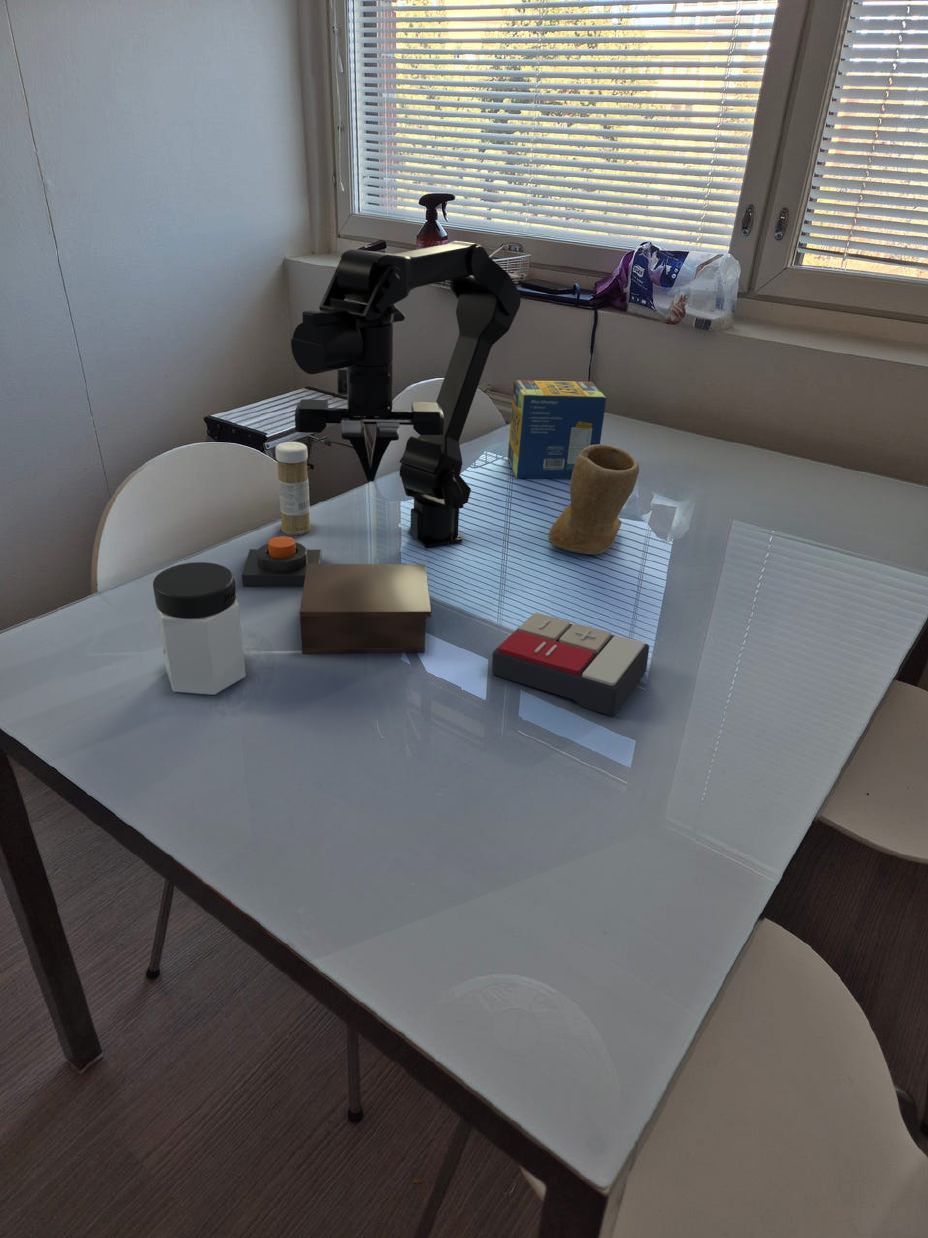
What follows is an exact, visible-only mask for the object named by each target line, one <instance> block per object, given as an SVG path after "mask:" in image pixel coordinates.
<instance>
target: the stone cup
mask: <svg viewBox="0 0 928 1238" xmlns="http://www.w3.org/2000/svg"><path fill="white" fill-rule="evenodd" d="M639 472H640V465H639V463H638V461H637V459H636V458H635V457H634V455H632V454H630V453H629V452H627V451H626V450H624V449H622V448H620V447H617V446H614V445H609V444H605V443H604V444H601V443H600V444H597V445H591V446H588V447H586V448H584V449H583V450H582V451H581V452H580V453H579V455H578V457H577V459H576V462H575V465H574V469H573V472H572V477H571V479H570V481H569V497H570V503H569V504H567V506H566V507H565V508H564V509H563V511H561V513H560V515H559V516H558V517H557V518H556V520H555V522H554V523H553V524H552V525H551V528H550V530H549V532H548V536H547V538H548V541H549V543H550V544H551V545H553V546H554V547H557V548H559V549H561V550H564V551H568V552H572V553H575V554H576V553H577V554H583V555H601V554H603V553H605V552H606V551H608V550H609V548H610V547H612V545H613V544H614V542H615V540H616V538H617V536H618V533H619V531H620V527H621V526H622V520H620V519H619V514H620V512H621V511H622V509H624V506H625V505H626V503H627V501H628V500H629V498H630V497H631V495H632V494H633V491H634V489H635V486H636V484H637V479H638V475H639Z"/></svg>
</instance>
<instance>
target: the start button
mask: <svg viewBox="0 0 928 1238" xmlns="http://www.w3.org/2000/svg"><path fill="white" fill-rule="evenodd" d="M295 543H296V540H295V539H294V537H293V538H292V537H290V536H284V535H283V536H282V535H281V536H275V537H272V538H270V539H269V540H268V541H267V544H268V550H269V555H270V556H271V557H275V558H287V557H291V556H294V555H295V553H296V548H295Z"/></svg>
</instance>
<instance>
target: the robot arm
mask: <svg viewBox="0 0 928 1238" xmlns="http://www.w3.org/2000/svg"><path fill="white" fill-rule="evenodd" d="M446 281H449V288H450V290H451V292H452V293H453V294H454V296H455V297H456V298H457V303H456V308H455V316H456V322H457V327H458V337H457V340H456V343H455V345H454V348H453V351H452V354H451V357H450V360H449V363H448V366H447V369H446V372H445V375H444V377H443V379H442V384H441V386H440V390H439V392H438V394H437V398H436V401H435V402H433V401H432V402H431V401H429V402H427V401H411V409H393V394H394V393H393V390H394V389H393V387H394V385H393V381H394V379H393V377H394V376H393V375H394V373H393V372H394V370H393V368H394V367H393V366H394V362H393V361H394V359H393V358H394V324H395V323H398V322H403V321H405V319H406V316H405V314H404V313H403V312H402V311H401V310H400V309H399V308H398V307H397V306H396V304H397V303H399V302H401V301H403V300H405V299H407V297H408V296H409V294H410V292H411V291H413V290H414V289H416V288H420V287H424V286H429V285H434V284H438V283H442V282H446ZM521 301H522V300H521V293H520V291H519V289H518V287H517V284H516V283H515V282H514V280H513V279H512V277H511V276H510V274H509V272H507V271H506V270H505V269H504V268H502V267H501V266H500V265H499V264H498V263H497V262H495V260H493V259H492V258H491V257H490V255H489V254H488V251H487V250H486V248H484V246H482V245H481V244H479V243H476V242H475V243H474V242H466V241H460V240H452V241H450V242H448V243H445V244H440V245H434V246H429V247H424V248H418V249H414V250H408V251H403V252H398V253H389V252H380V251H373V250H364V249H363V250H362V249H348V250H346V251H344V252H343V253H342V254H341V255H340V260H339V261H338V265H337V266H336V269H335V271H334V273H333V275H332V278H331V279H330V282H329V284H328V286H327V288H326V291H325V293H324V295H323V297H322V299H321V302H320V304H319V305H318V306H319V307H318V308H319V310H311V309H310V310H304V311H302V314H301V315H302V316H301V317H302V322H301V323H299V324H297V326H296V327H295V329H294V330H293V334H292V338H291V339H290V348H291V354H292V356H293V360H294V361H295V363H296V364H297V366H298V368H300V370H302V371H303V372H304V373H306V374H308V375H317V374H321V373H322V374H323V373H326V372H327V373H328V372H331V371H337V379H336V380H337V395H339V396H346V397H347V398H346V399H347V408H345V407H344V408H343V407H342V408H340V407H329V400H328V399H307V398H306V399H305V398H304V399H303V398H302V399H300V401H298V403H297V405H296V408H295V411H294V427H295V432H296V433H297V432H298V433H303V434H304V433H305V434H306V433H308V434H309V433H310V434H311V433H312V434H321V433H322V432H323V431H324V430H325V429H326V428H327V424H340V428H341V435H340V437H341V440H344V441H345V440H346V441H349V442H350V444H351V446H352V448H353V450H354V451H355V453H356V455H357V457H358V460H359V462H360V465H361V467H362V470H363V473H364V476H365V478H366V481H367V482H375V479H376V475H377V473H378V471H379V468H380V465H381V462H382V459H383V457H384V455H385V453H386V451H387V449H388V447H389V445H390V443H391V442H393V441H399V439H400V433H399V432H400V431H399V429H400V426H412V428H413V430H414V431H415V432H416V433H417V434H418V435H419V436H417V437H415V436H412V435H411V436H410V437H409V438H408V439H407V441H406V444H405V448H404V452H403V455H402V457H400V460H399V463H400V468H399V477H400V478H401V483H402V487H403V490H404V493H405V496H406V497H410V498H413V507H411V508H410V525H409V526H410V527H409V528H408V533H409V534H410V535H411V536H412V537H414V539H415V540H417V541H418V542H419V543H420V544H421V545H423V547H424V548H430V547H431V548H432V547H436V546H437V547H438V546H443V545H448V544H449V545H450V544H454V543H460V542H463V540H464V538H463V536H462V535H461V534H460V533H459V523H460V522H459V521H460V509H463V508H464V505H466V504H468V502H469V500H470V496H471V492H472V488H471V487H470V486H469V485H468V483H467V482H466V481H465V480H464V479H463V478H462V476H461V472H462V467H463V457H462V452H461V446H460V439H461V436H462V433H463V431H464V427H465V424H466V421H467V418H468V416H469V414H470V410H471V407H472V405H473V402H474V399H475V395H476V393H477V390H478V387H479V384H480V381H481V379H482V375H483V373H484V369H485V367H486V364H487V361H488V358H489V355H490V352H491V349H492V347H493V346H494V344H496V343H497V342H498V341H499V340H500V339H501V338H503V337H504V335H506V334H507V333H508V332H509V331H510V328H511V327H512V324H513V323H514V320H515V318H516V316H517V313H518V312H519V309H520V306H521ZM366 425H375V426H374V427H375V429H374V438H373V446H372V453H371V460H370V455H369V447H368V440H367V433H366Z"/></svg>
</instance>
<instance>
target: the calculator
mask: <svg viewBox="0 0 928 1238" xmlns="http://www.w3.org/2000/svg"><path fill="white" fill-rule="evenodd" d="M649 651H650V645H649V644H648V643H645V642H643V641H641V640H636V639H633V638H629V637H625V636H622V635H617V634H616V635H615V634H612V633H611V631H607V630H604V629H600V628H596V627H592V626H589V625H585V624H581V623H577V622H575V623H571V621H570V620H566V619H562V618H558V617H554V616H551V615H548V614H544V613H539V612H534V613H533V614H532V615H530V617H529V618H527V619H526V620H525V621H524V622H523V623H522V624H521V625H520V626H519V627H517V628H516V629H515V630H514V631H513V633H511V634H510V635H509V636H508V637H507V638H506V639H505V640H504V641H503V642H501V644H499V645H498V646H497V647H496V648H495V649H494V650H493V651H492V657H491V658H492V659H491V661H492V662H491V674H492V675H493V676H494V677H495V676H496V677H499V678H502V679H505V680H508V681H512V682H515V683H518V684H522V685H525V686H528V687H531V688H535V689H538V690H541V691H544V692H547V693H550V694H553V695H557V696H561V697H564V698H567V699H570V700H573V701H575V702H576V703H577V704H578V705H579V706H580V707H581V708H584V709H587V710H591V711H593V712H597V713H600V714H604V715H607V716H610V717H612V716H615V715H616V714H617V713H618V711H619V709H621V707H622V706H623V704H624V703H625V702H626V700H627V698H628V697H629V696H630V695H631V693H632V691H634V689H635V688H636V686H637V684H638V683H639V682H640V681H641V680H642V678H643V677H644V675H645V673H646V672H647V667H648V661H649V653H650V652H649Z"/></svg>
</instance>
